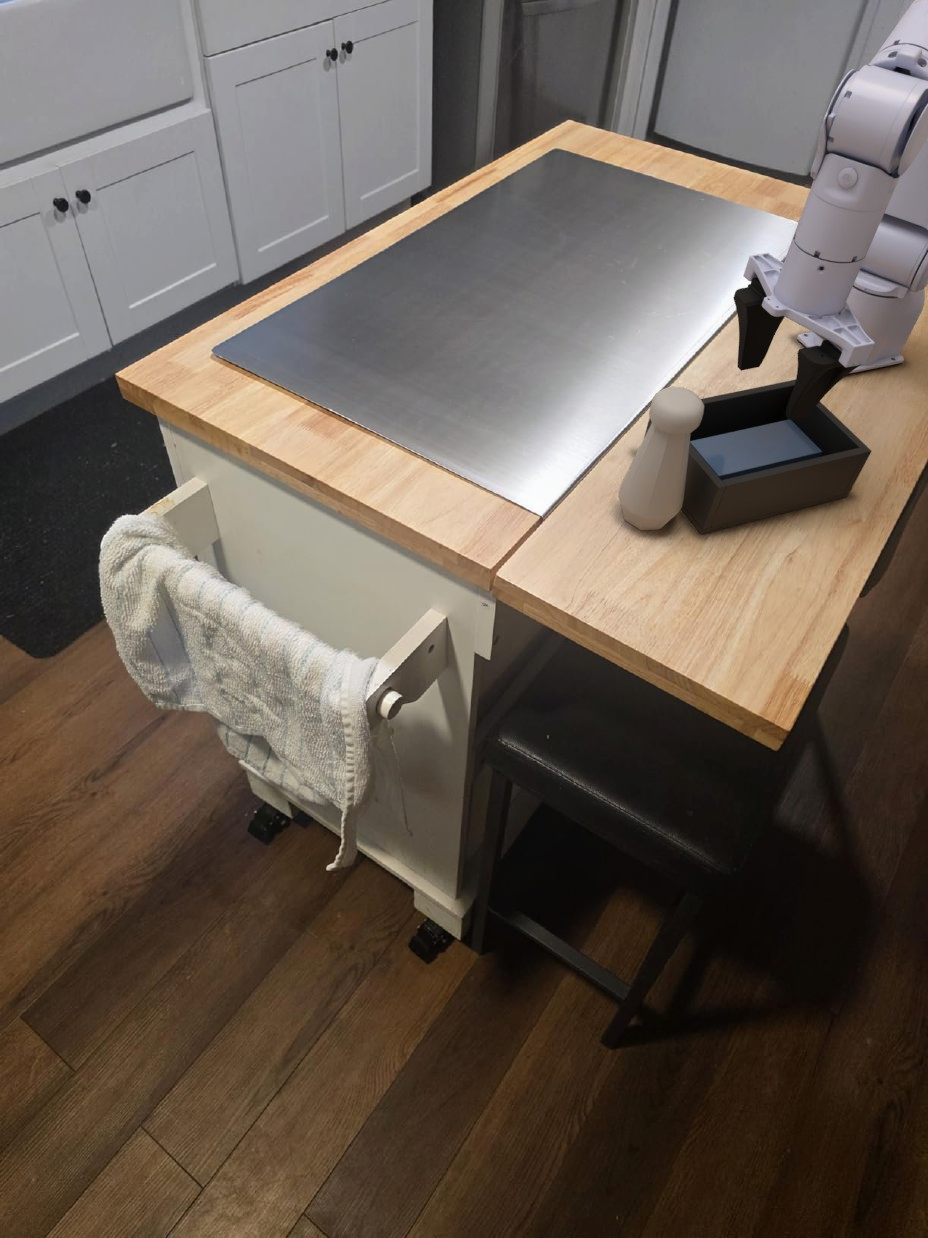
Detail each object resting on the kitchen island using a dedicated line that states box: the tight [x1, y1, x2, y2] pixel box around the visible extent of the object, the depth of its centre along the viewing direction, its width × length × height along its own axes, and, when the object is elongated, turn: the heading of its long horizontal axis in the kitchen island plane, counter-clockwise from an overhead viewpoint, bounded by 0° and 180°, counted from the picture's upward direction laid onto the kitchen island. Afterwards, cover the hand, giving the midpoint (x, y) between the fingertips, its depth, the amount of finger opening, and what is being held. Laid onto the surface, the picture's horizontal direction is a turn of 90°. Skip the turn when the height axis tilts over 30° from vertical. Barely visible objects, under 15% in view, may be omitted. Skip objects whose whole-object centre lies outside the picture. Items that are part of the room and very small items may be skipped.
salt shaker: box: [617, 385, 704, 531], centre depth 75 cm, size 6×6×13 cm
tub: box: [643, 378, 873, 535], centre depth 83 cm, size 17×12×6 cm
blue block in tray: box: [690, 420, 822, 481], centre depth 83 cm, size 5×12×3 cm, turn 112°
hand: (771, 390), depth 79 cm, fingers open, 7 cm apart
